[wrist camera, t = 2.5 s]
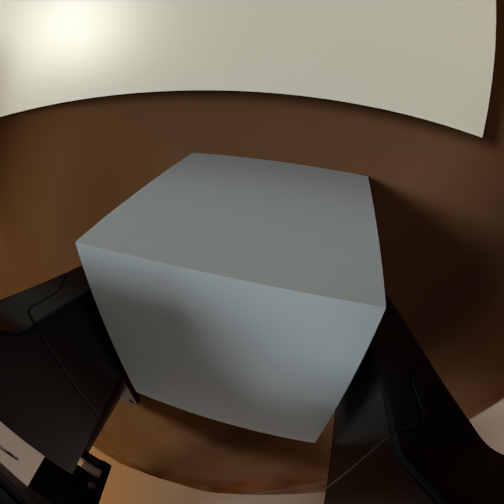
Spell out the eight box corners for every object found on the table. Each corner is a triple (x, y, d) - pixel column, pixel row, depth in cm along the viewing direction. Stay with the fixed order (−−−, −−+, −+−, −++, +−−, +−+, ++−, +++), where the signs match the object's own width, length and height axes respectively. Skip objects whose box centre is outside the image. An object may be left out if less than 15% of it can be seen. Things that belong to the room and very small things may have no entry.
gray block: (334, 310, 11) (314, 442, 7) (201, 283, 12) (136, 391, 8) (367, 176, 8) (386, 306, 4) (192, 152, 9) (75, 242, 5)
